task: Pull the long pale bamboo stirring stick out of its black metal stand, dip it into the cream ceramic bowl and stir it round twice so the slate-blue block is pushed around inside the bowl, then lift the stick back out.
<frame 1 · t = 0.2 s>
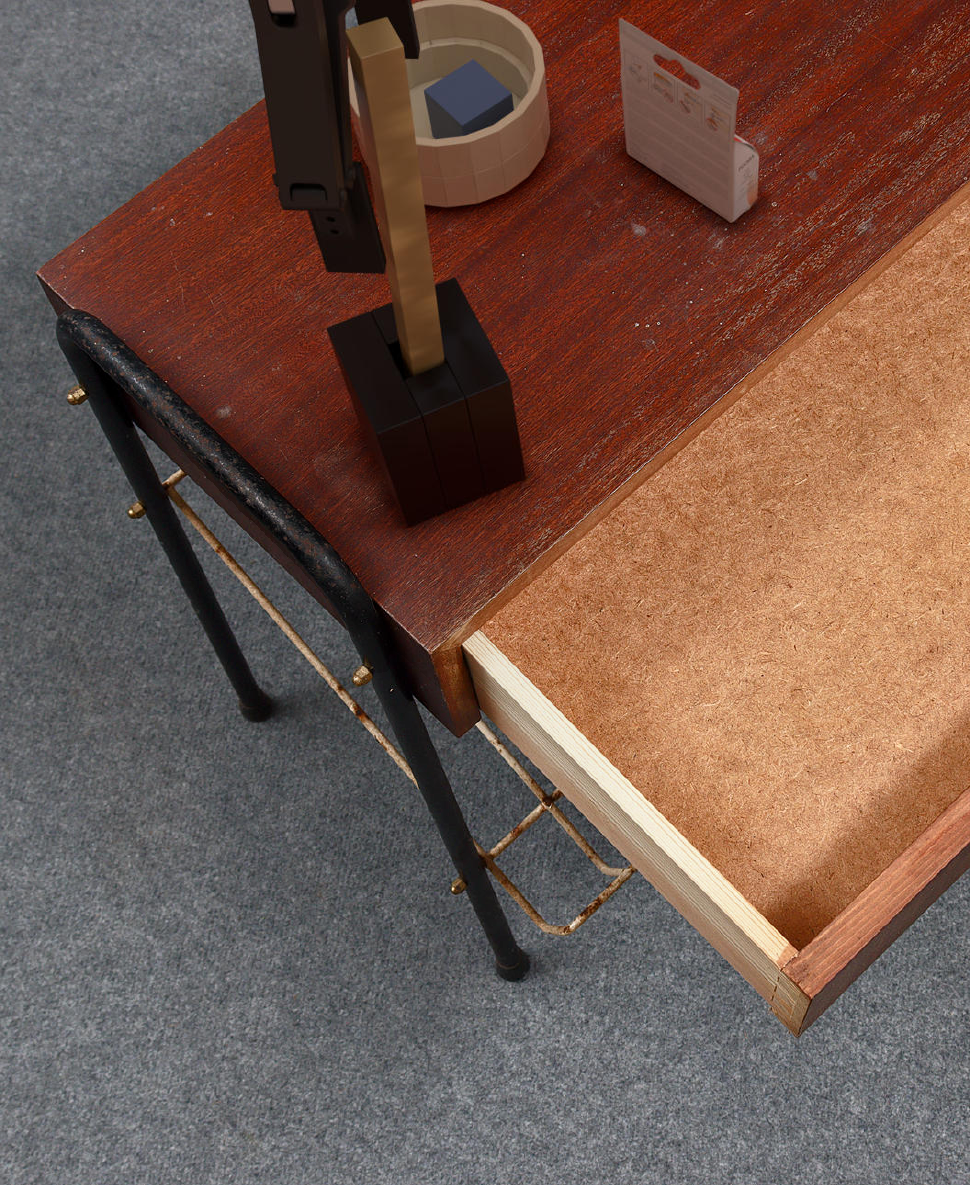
hand: (376, 156, 68), 18 cm above the table, tool pointing down, fingers open, 13 cm apart
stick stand: (442, 454, 81), on the table
bowl: (456, 139, 92), on the table
ink box: (687, 182, 89), on the table
stick: (437, 455, 81), resting in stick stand
block: (475, 138, 91), point 1 cm above the table, touching bowl
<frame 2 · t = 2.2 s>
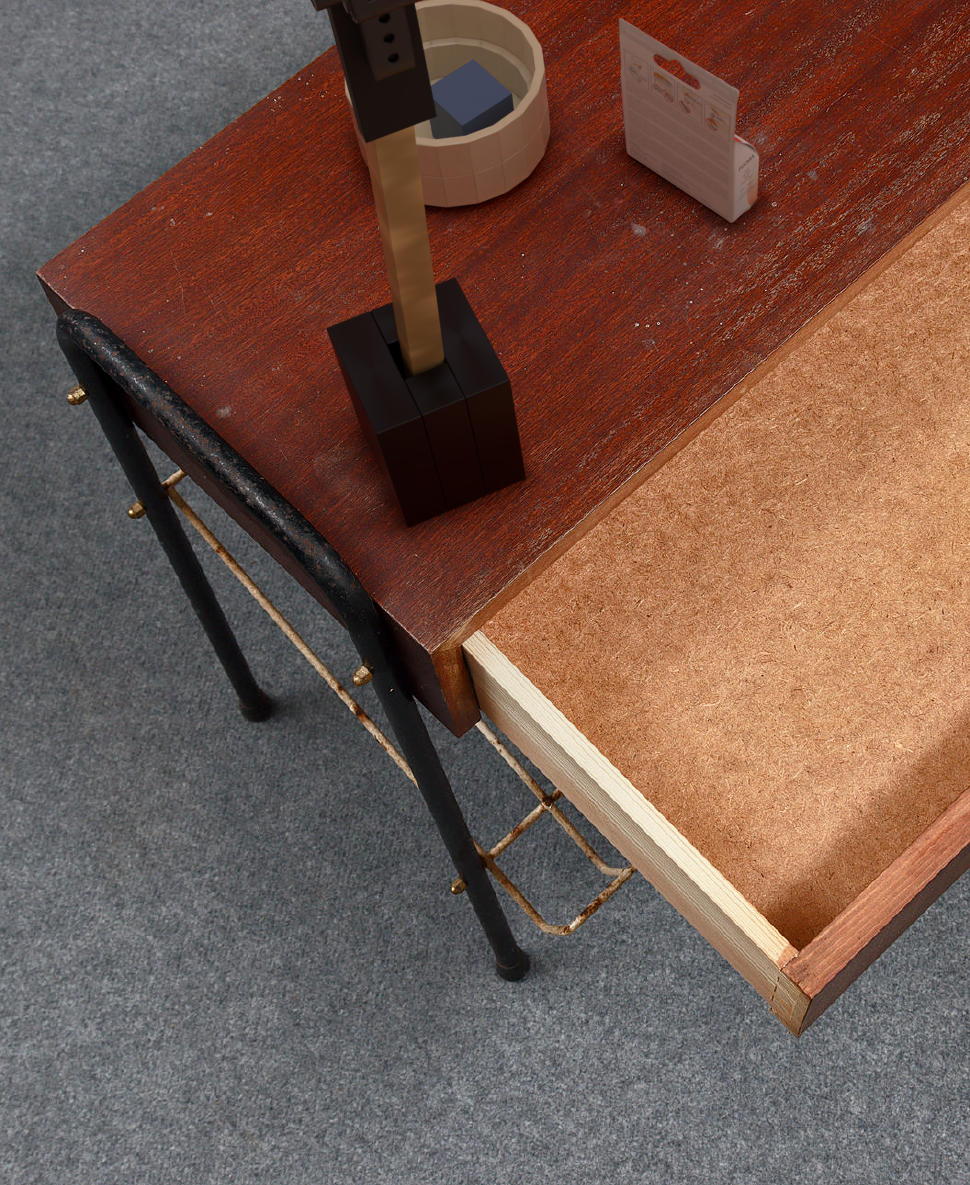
hand: (331, 2, 52), 32 cm above the table, tool pointing down, fingers open, 13 cm apart
nothing on the table moved.
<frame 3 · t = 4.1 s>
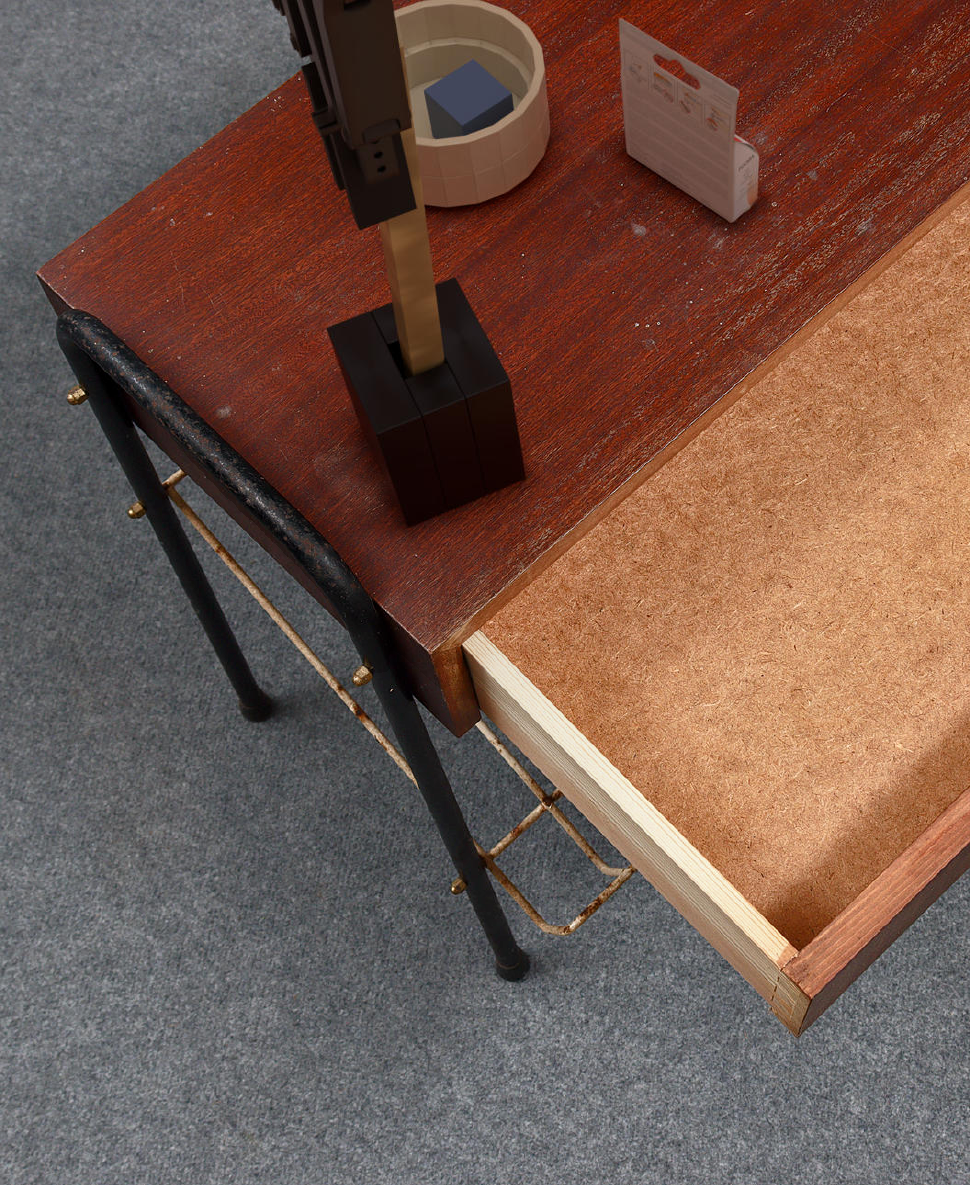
hand: (375, 193, 61), 22 cm above the table, tool pointing down, fingers closed on stick, 2 cm apart
stick: (437, 455, 81), resting in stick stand, touching gripper
everything else where it was.
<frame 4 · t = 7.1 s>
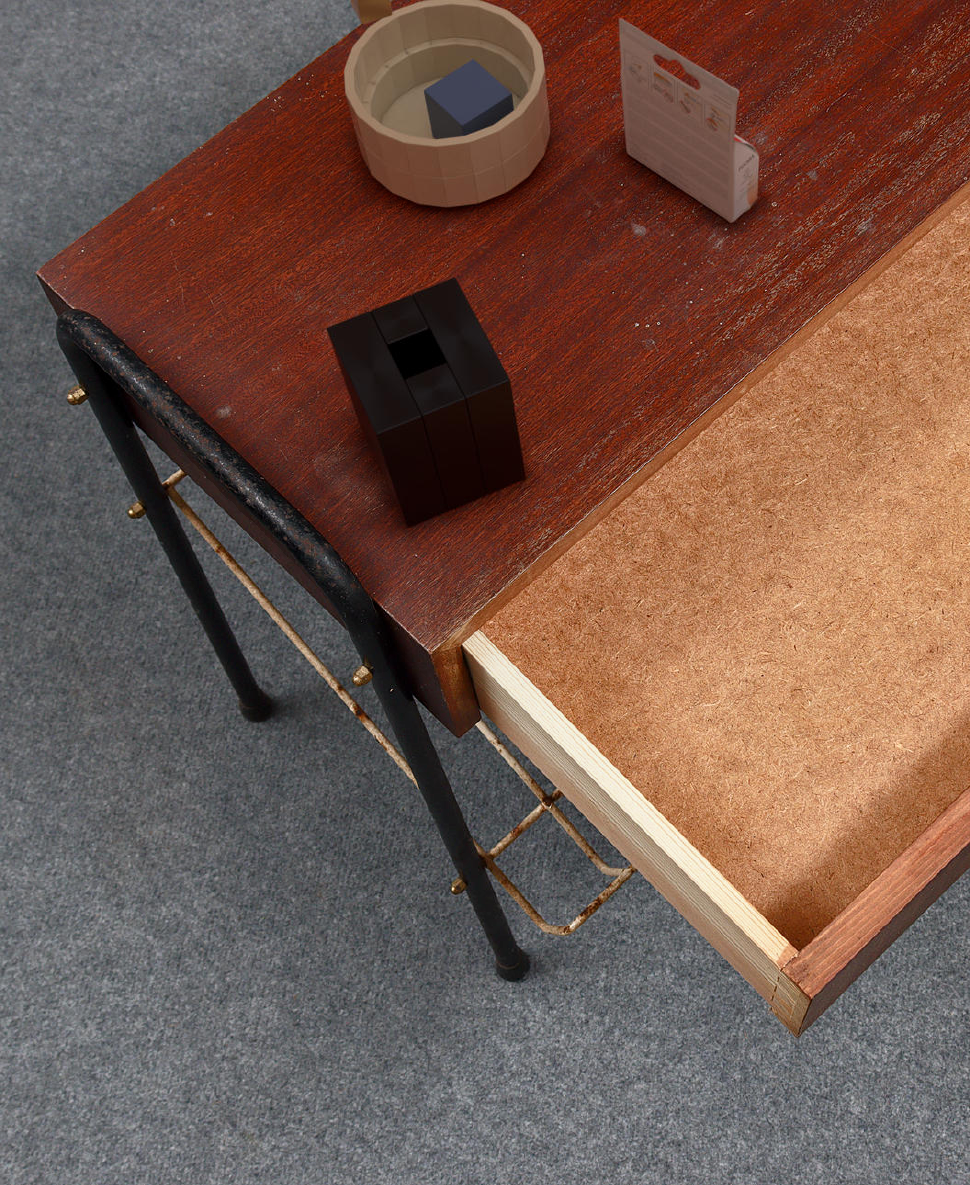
stick: (371, 9, 76), point 15 cm above the table, touching gripper
everything else where it was.
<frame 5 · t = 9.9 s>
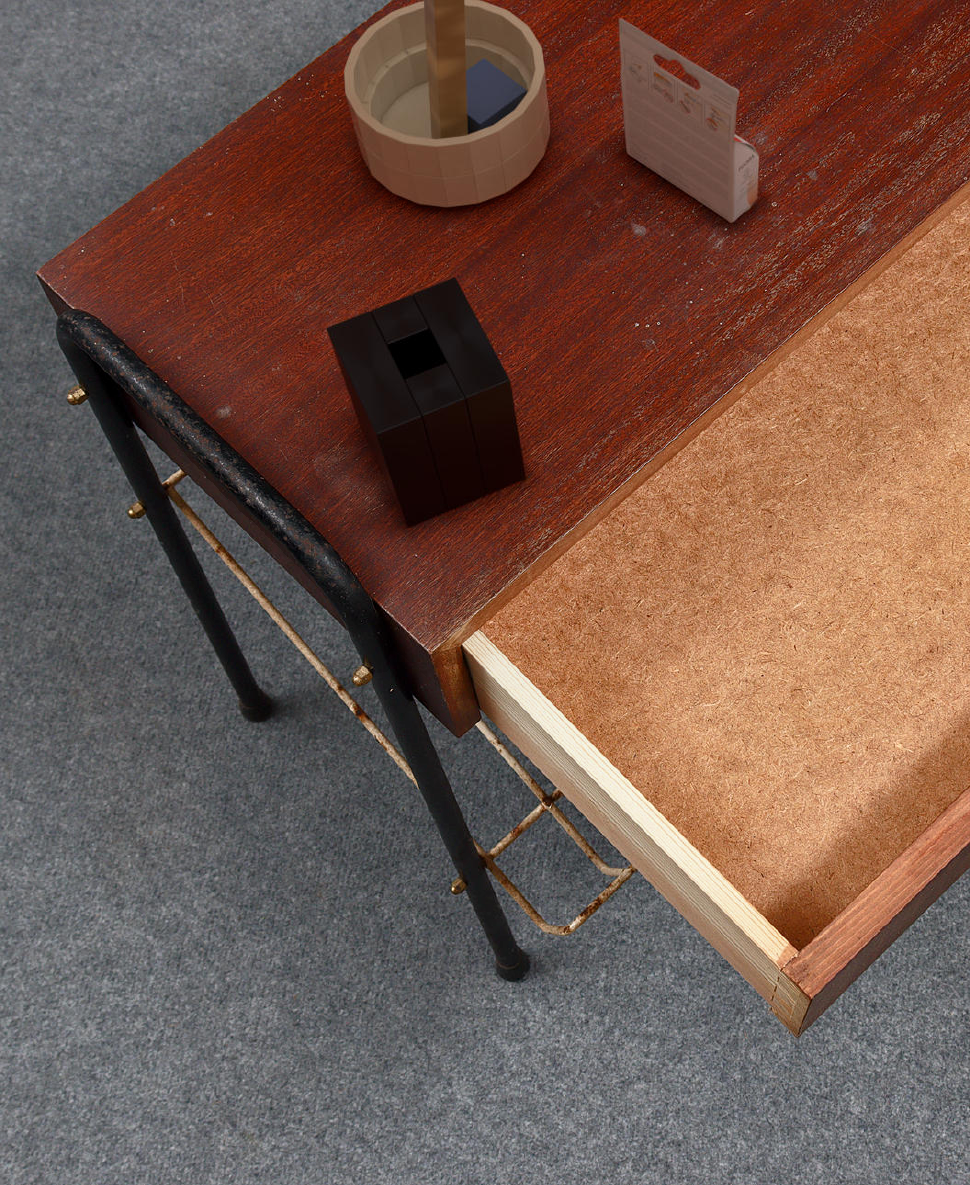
stick: (449, 148, 88), point 2 cm above the table, tilted 6°, touching block, gripper
block: (488, 137, 91), point 1 cm above the table, touching bowl, stick
everything else where it was.
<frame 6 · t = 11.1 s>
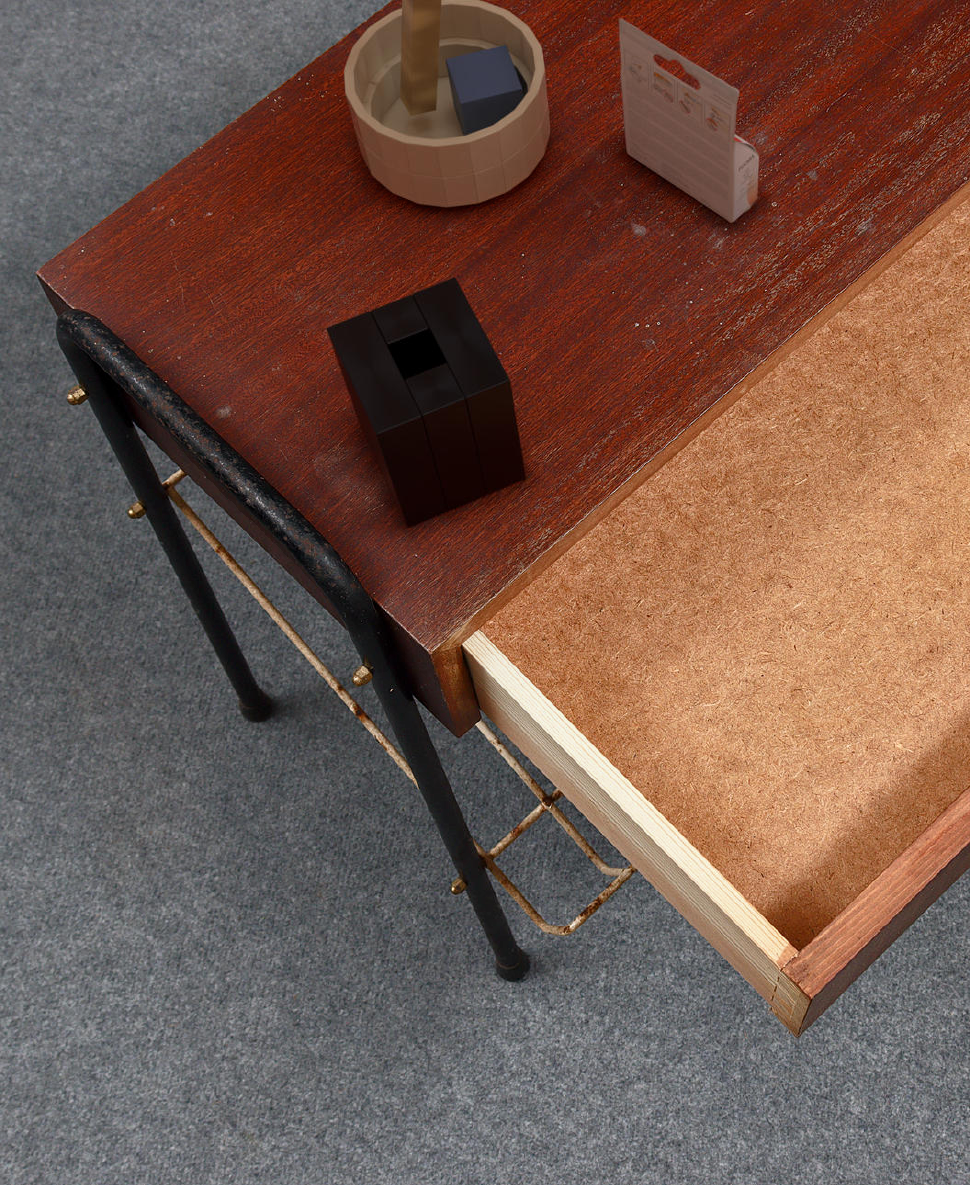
stick: (418, 104, 90), point 2 cm above the table, tilted 11°, touching gripper
block: (490, 120, 91), point 1 cm above the table, touching bowl
everything else where it was.
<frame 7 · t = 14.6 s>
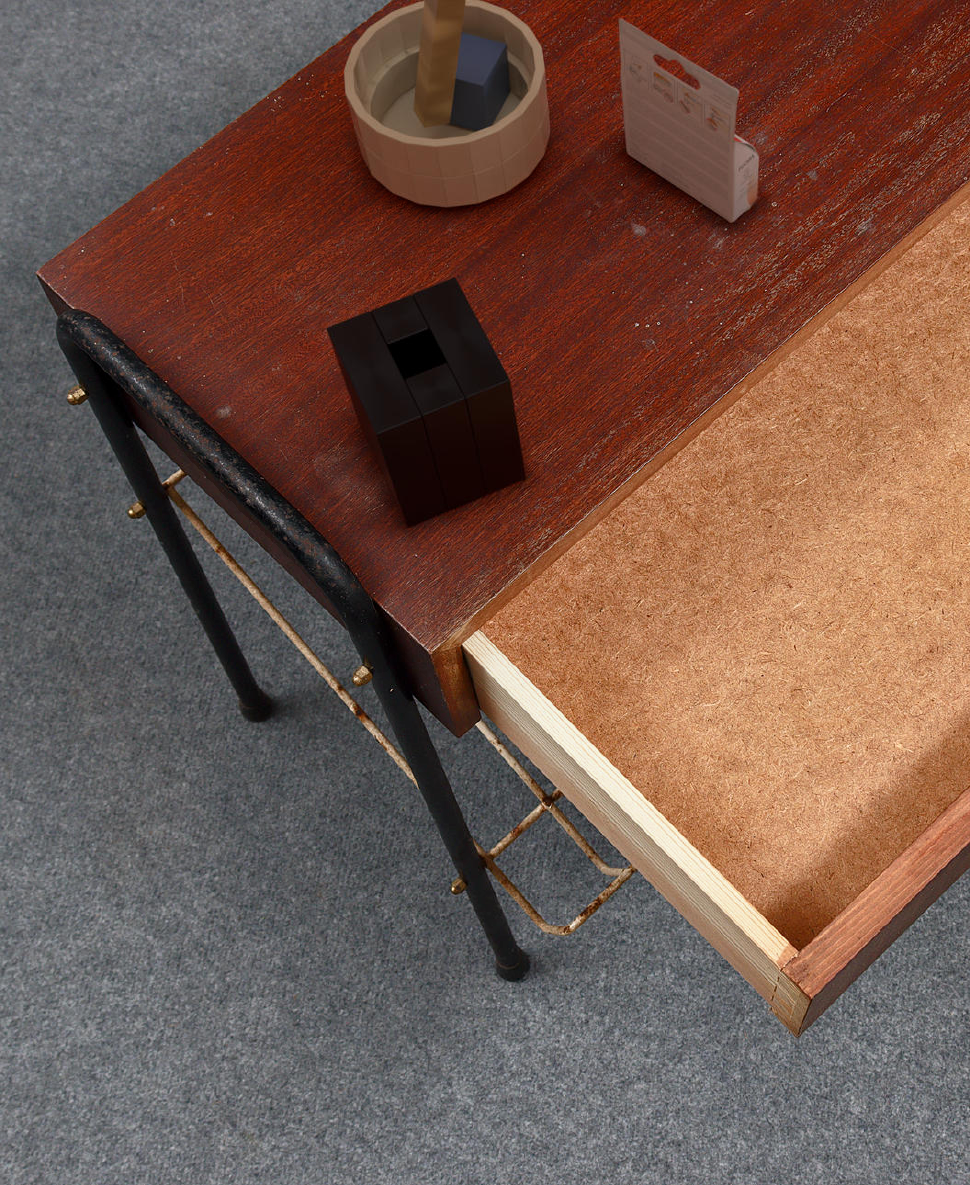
stick: (431, 116, 89), point 3 cm above the table, tilted 15°, touching block, gripper
block: (470, 105, 92), point 1 cm above the table, touching bowl, stick
everything else where it was.
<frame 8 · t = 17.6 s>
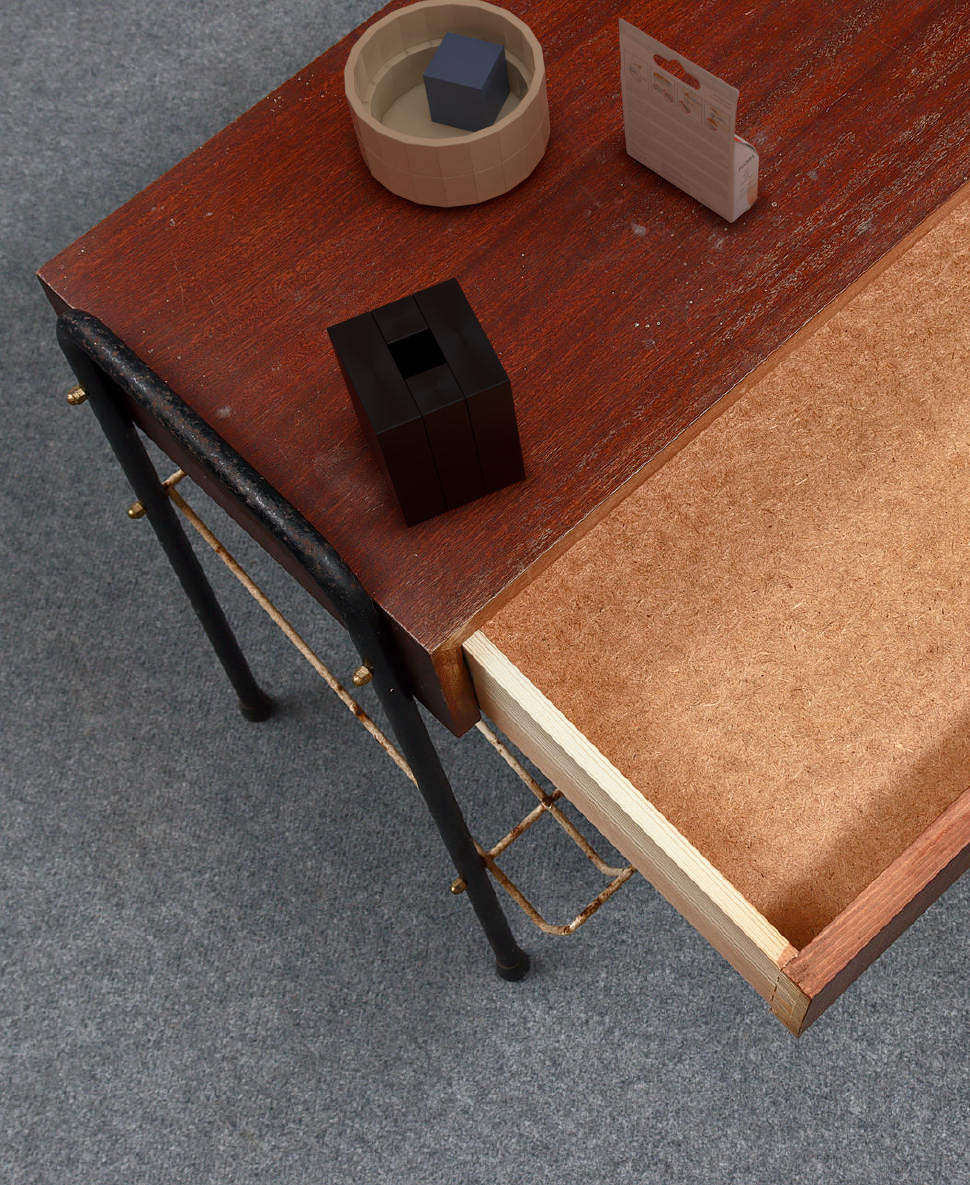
block: (471, 107, 92), point 1 cm above the table, touching bowl
at the end: block moved 2.7 cm from its start; block inside the target area in the bowl (2.4 cm from its centre), point 0.6 cm above the bowl's base; the gripper is holding stick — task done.
